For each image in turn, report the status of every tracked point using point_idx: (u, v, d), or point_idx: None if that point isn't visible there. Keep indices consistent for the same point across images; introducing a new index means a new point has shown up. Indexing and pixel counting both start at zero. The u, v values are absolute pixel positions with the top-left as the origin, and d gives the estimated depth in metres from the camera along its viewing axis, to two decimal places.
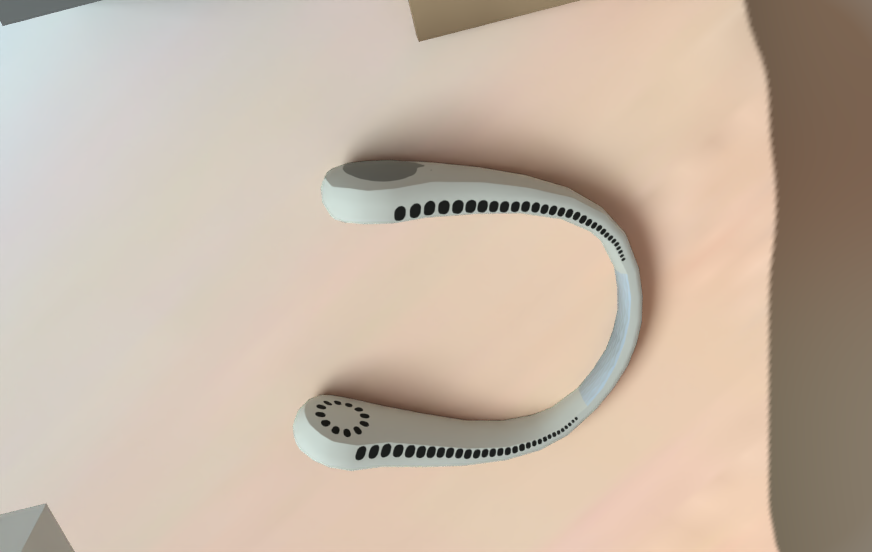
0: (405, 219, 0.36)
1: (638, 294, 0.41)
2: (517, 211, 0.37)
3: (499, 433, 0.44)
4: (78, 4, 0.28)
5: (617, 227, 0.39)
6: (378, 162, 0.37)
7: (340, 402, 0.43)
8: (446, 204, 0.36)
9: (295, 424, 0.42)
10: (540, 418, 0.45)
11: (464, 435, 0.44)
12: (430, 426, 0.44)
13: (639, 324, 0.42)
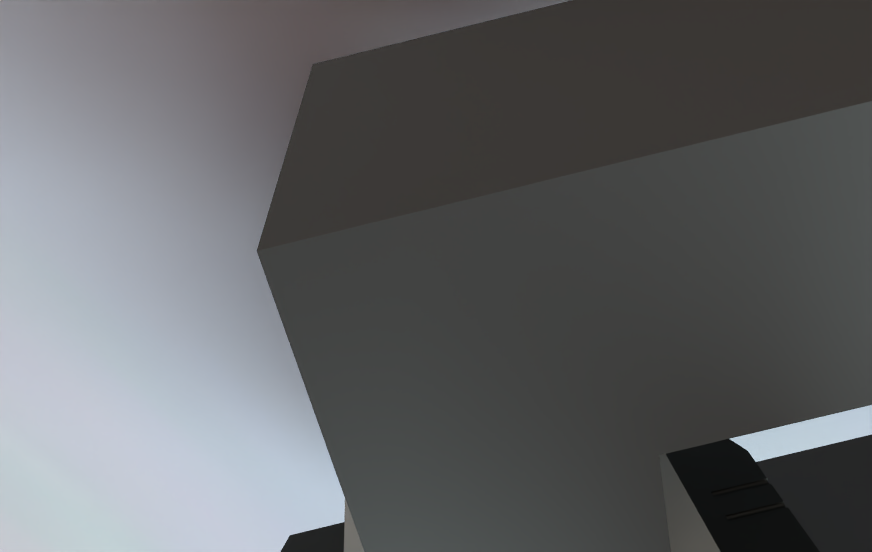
0: None
1: None
2: None
3: None
4: None
5: None
6: None
7: None
8: None
9: None
10: None
11: None
12: None
13: None
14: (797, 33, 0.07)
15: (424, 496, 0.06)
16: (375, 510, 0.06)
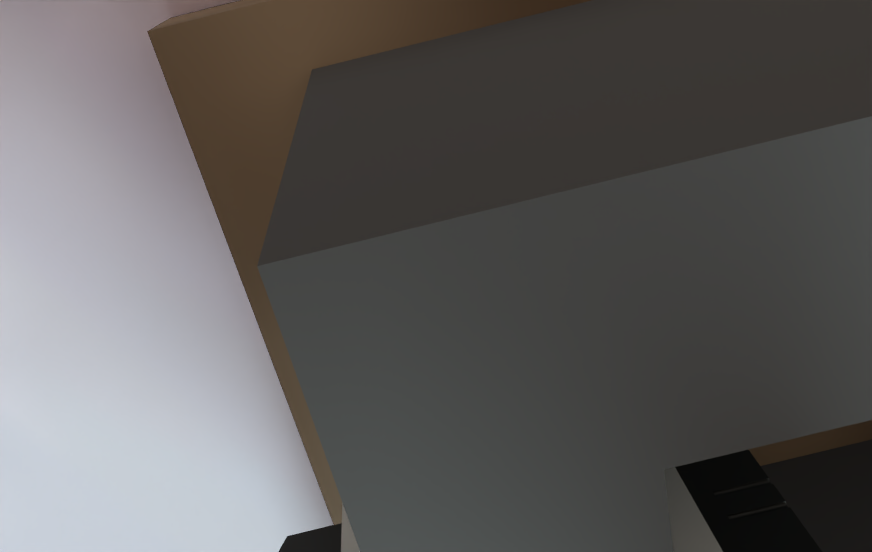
0: None
1: None
2: None
3: None
4: None
5: None
6: None
7: None
8: None
9: None
10: None
11: None
12: None
13: None
14: (801, 42, 0.07)
15: (425, 512, 0.06)
16: (377, 526, 0.06)
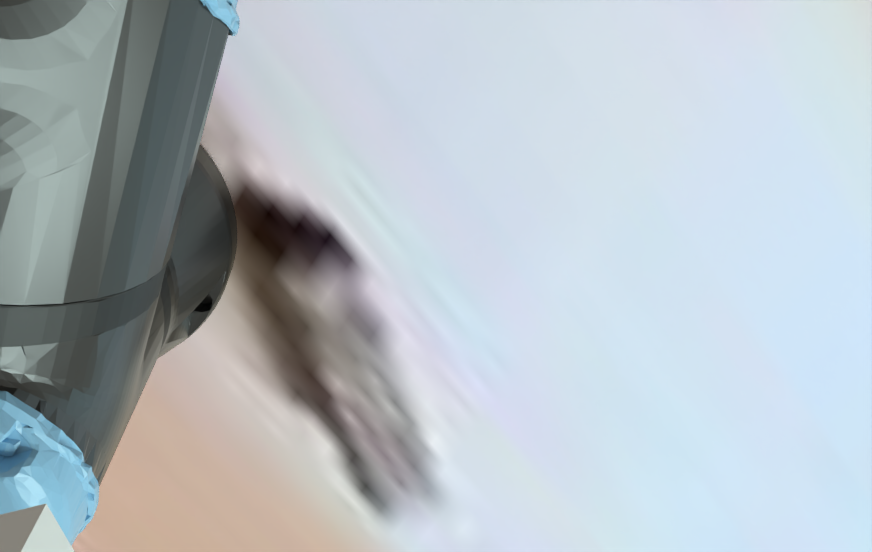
0: None
1: None
2: None
3: None
4: None
5: None
6: None
7: None
8: None
9: None
10: None
11: None
12: None
13: None
14: None
15: None
16: None
